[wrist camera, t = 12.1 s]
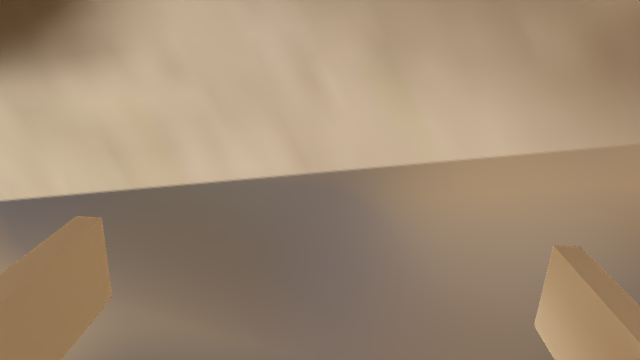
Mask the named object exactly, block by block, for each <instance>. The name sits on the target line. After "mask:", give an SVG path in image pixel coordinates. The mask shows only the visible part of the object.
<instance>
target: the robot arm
mask: <svg viewBox="0 0 640 360" xmlns="http://www.w3.org/2000/svg"><path fill="white" fill-rule="evenodd" d="M111 298H112V292H111V284H110V277H109V269H108V261H107V253H106V246H105V239H104V231H103V223H102V218H98V217H82V216H76V217H75V218H74V219H72V220H71V221H69V222H68V223H67V224H66V225H64V226H63V227H62V228H60V229H59V230H58V231H56V232H55V233H54V234H52V235H51V236H50V237H48V238H47V239H46V240H44V241H43V242H42V243H41V244H39V245H38V246H37V247H35V248H34V249H33V250H31V251H30V252H29V253H27V254H26V255H25V256H23V257H22V258H21V259H20V260H18V261H17V262H16V263H14V264H13V265H12V266H10V267H9V268H8V269H6V270H5V271H4V272H2V273H1V274H0V360H61V359H62V358H63V357H64V356H65V355H66V353H67V352H68V351H69V350H70V348H71V347H72V346H73V345H74V344H75V342H76V341H77V340H78V339H79V337H80V336H81V335H82V334H83V332H84V331H85V330H86V329H87V327H88V326H89V325H90V324H91V323H92V321H93V320H94V319H95V318H96V317H97V315H98V314H99V313H100V312H101V310H102V309H103V308H104V307H105V306H106V304H107V303H108V302H109V301H110V299H111ZM534 326H535V327H536V329H537V331H538V333H539V334H540V336H541V338H542V340H543V341H544V343H545V345H546V346H547V348H548V350H549V351H550V353H551V355H552V356H553V358H554V359H555V360H640V306H639V305H638V304H637V303H636V302H635V301H634V300H633V299H632V298H631V297H630V296H629V295H628V294H627V293H626V292H625V291H624V290H623V289H622V288H621V287H620V286H619V285H618V284H617V283H616V282H615V281H614V280H613V279H612V278H611V277H610V276H609V275H608V274H607V273H606V272H605V271H604V270H603V269H602V268H601V267H600V266H599V265H598V264H597V263H596V262H595V261H594V260H593V259H592V258H591V257H590V256H589V255H588V254H587V253H586V252H585V251H584V250H583V249H582V248H581V247H576V246H559V245H553V249H552V253H551V257H550V262H549V265H548V270H547V274H546V278H545V282H544V287H543V291H542V295H541V299H540V304H539V307H538V312H537V316H536V320H535V324H534Z"/></svg>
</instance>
